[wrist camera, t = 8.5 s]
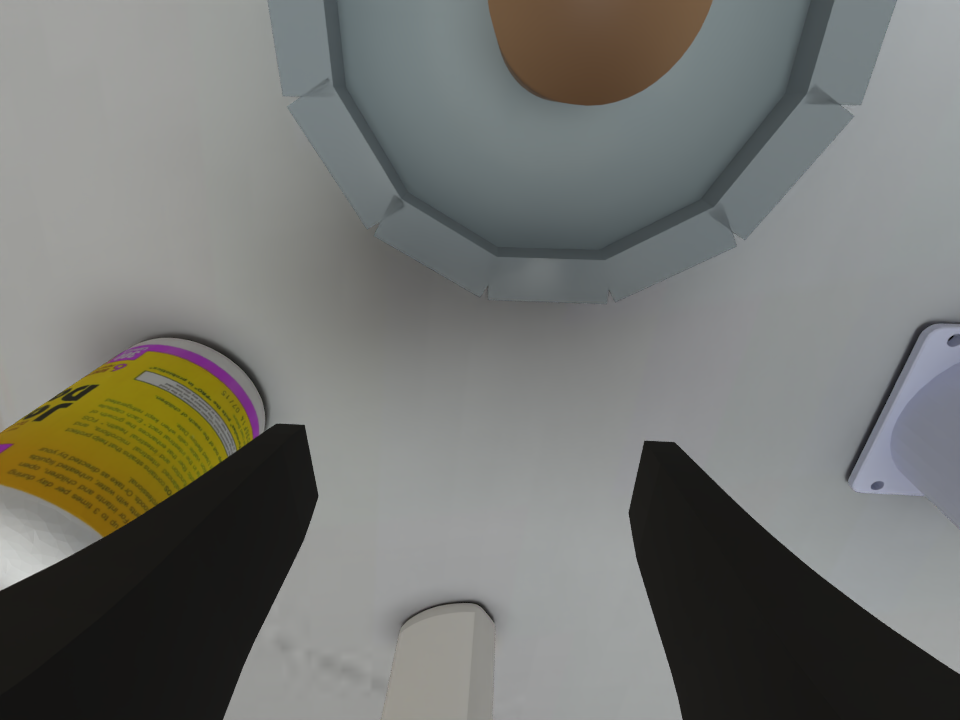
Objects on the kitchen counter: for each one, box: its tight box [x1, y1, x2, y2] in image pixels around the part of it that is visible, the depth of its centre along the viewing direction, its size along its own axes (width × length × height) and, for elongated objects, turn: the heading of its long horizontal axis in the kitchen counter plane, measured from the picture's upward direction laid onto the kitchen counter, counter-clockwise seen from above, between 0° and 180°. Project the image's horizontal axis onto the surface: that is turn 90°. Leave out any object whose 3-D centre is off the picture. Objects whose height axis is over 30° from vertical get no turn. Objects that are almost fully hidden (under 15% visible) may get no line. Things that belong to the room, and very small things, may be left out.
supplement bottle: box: [0, 338, 265, 591], centre depth 16 cm, size 7×7×13 cm
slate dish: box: [268, 0, 897, 304], centre depth 13 cm, size 16×16×2 cm
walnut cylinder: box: [488, 0, 713, 106], centre depth 11 cm, size 4×4×6 cm
